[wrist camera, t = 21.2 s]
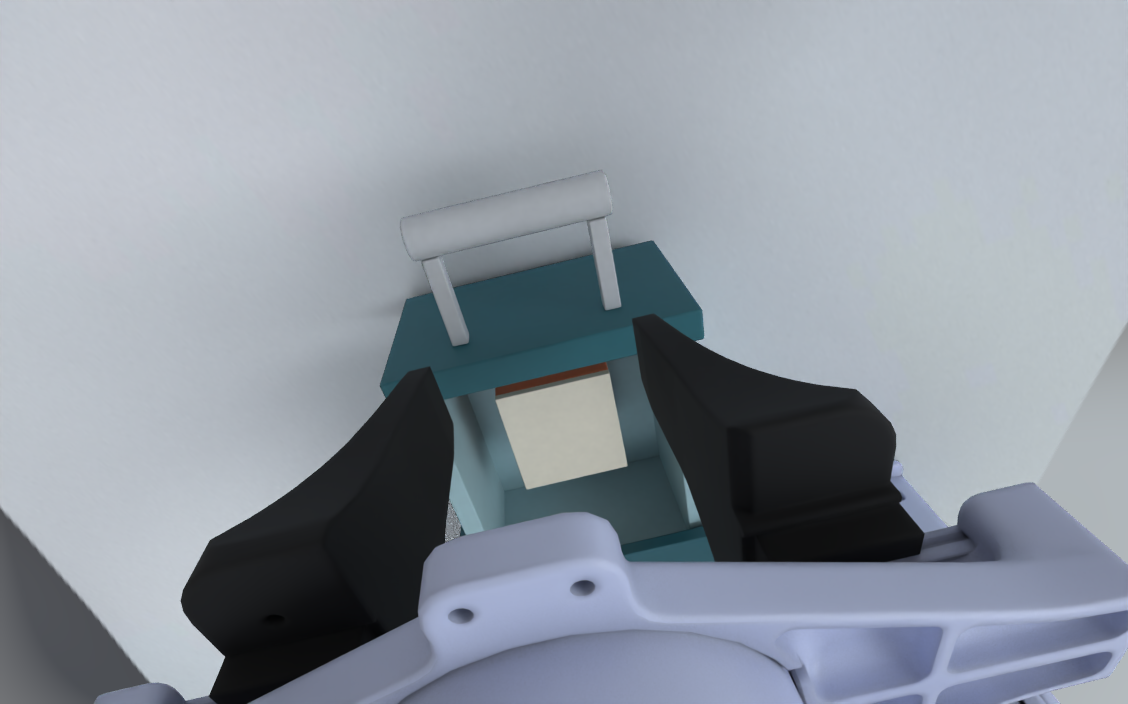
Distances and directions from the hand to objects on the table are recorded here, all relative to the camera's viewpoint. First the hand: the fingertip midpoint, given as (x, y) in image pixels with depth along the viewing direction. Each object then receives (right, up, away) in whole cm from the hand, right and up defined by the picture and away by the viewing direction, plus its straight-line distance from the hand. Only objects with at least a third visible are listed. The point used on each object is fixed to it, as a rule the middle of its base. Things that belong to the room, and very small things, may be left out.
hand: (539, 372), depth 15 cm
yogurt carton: (0, -1, +11) cm, 11 cm away
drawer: (0, +1, +11) cm, 11 cm away
